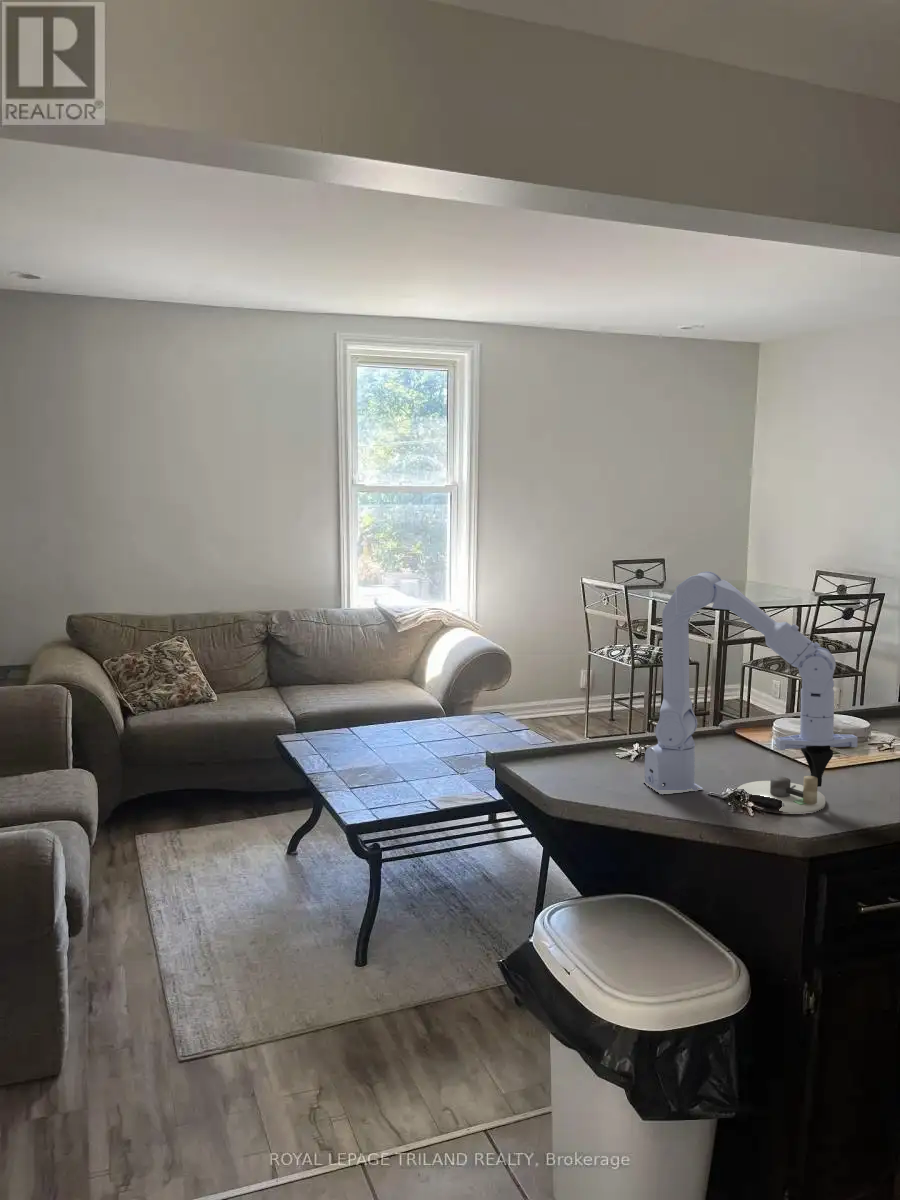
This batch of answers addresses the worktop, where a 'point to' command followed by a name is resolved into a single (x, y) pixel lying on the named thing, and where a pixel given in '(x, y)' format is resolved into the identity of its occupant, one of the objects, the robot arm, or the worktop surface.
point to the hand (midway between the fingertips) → (815, 784)
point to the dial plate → (789, 802)
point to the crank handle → (782, 789)
